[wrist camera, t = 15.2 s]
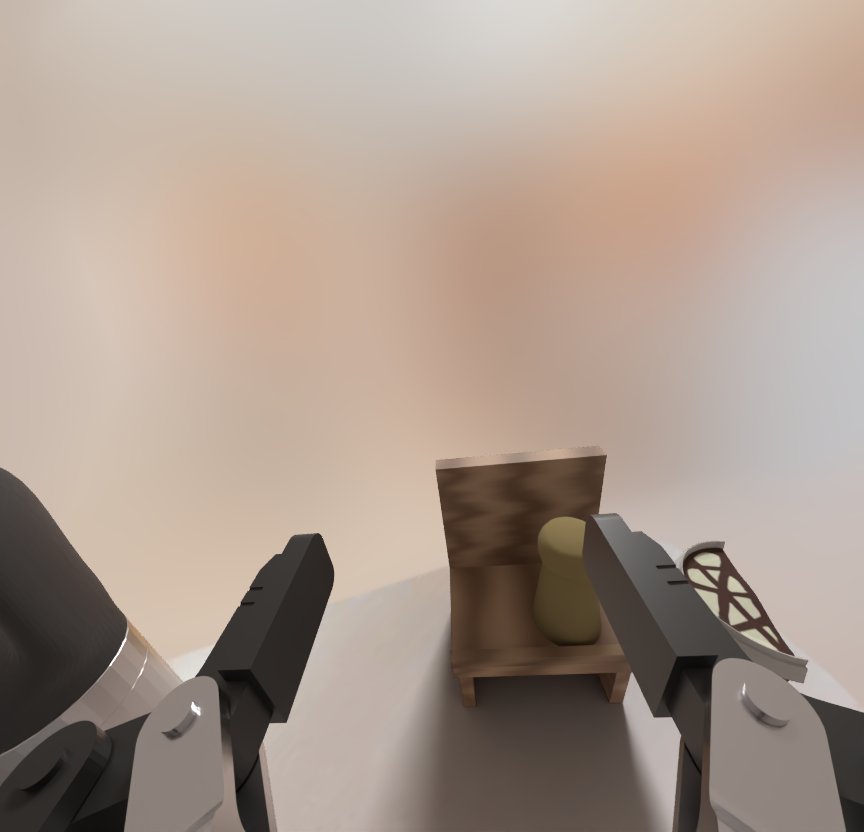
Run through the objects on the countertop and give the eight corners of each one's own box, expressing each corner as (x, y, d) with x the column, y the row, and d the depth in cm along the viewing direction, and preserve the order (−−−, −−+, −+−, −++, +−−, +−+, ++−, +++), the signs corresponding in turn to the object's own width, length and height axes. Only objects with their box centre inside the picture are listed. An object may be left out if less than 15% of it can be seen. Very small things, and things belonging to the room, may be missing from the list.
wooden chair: (460, 713, 31) (432, 555, 21) (455, 599, 41) (435, 460, 32) (629, 709, 29) (680, 540, 20) (580, 593, 40) (598, 445, 30)
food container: (640, 589, 39) (655, 530, 35) (699, 597, 38) (722, 537, 33) (683, 712, 29) (712, 650, 24) (767, 732, 27) (814, 668, 23)
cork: (584, 667, 26) (595, 580, 21) (520, 618, 30) (517, 537, 26) (611, 612, 30) (626, 527, 25) (551, 575, 34) (553, 496, 29)
